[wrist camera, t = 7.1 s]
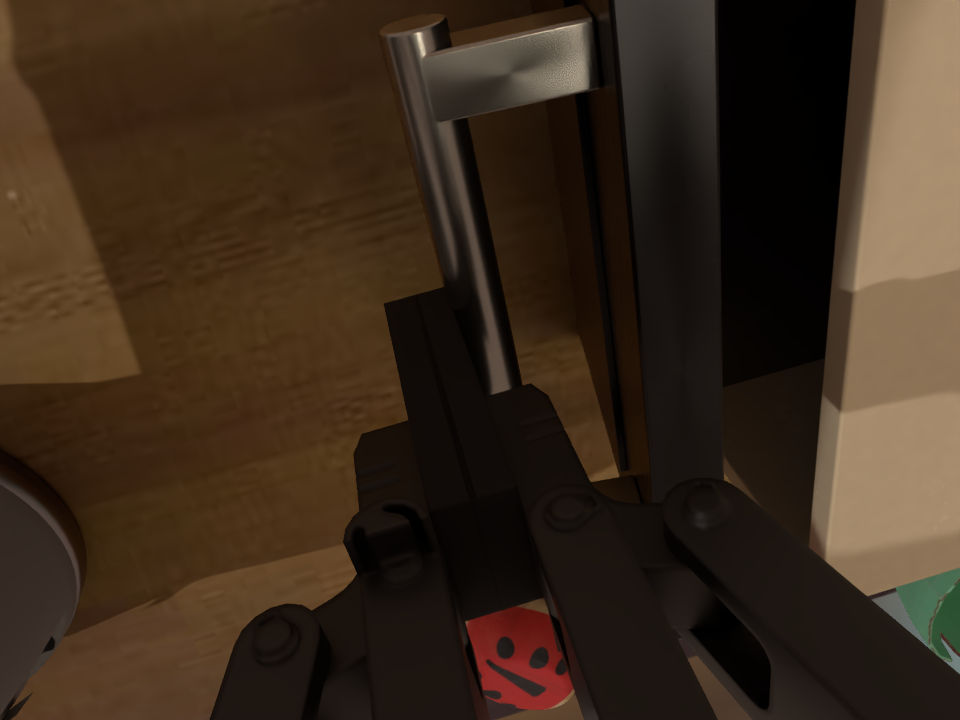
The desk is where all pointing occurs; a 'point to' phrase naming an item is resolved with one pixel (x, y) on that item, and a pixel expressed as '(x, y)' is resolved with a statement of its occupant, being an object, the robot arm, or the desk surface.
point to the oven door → (591, 206)
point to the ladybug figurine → (520, 657)
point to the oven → (844, 277)
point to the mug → (935, 610)
